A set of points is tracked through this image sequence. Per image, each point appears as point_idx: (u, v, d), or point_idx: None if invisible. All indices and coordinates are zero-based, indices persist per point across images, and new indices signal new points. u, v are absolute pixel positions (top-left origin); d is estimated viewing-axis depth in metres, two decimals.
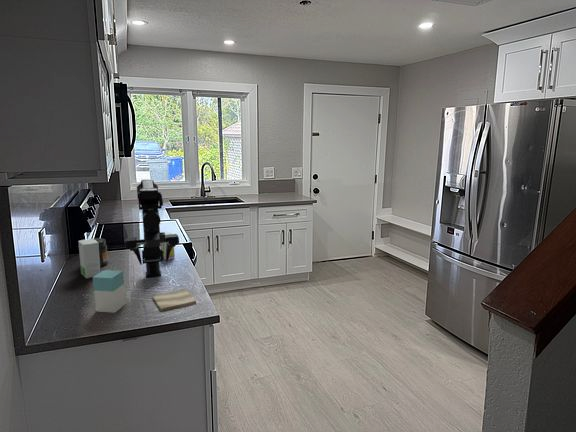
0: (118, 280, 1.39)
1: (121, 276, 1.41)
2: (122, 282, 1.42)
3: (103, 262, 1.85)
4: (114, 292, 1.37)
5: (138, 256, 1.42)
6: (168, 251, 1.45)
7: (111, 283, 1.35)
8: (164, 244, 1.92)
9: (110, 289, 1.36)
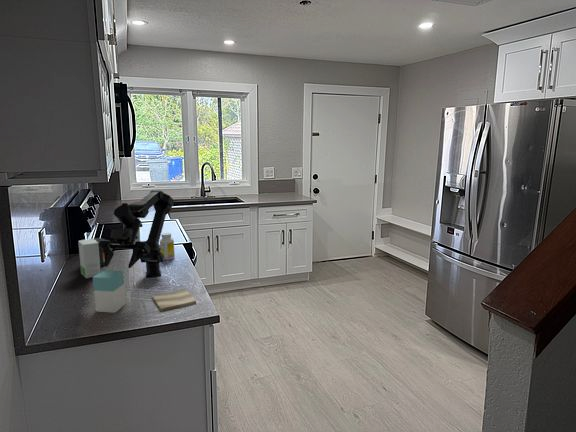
0: (118, 280, 1.39)
1: (121, 276, 1.41)
2: (122, 282, 1.42)
3: (103, 262, 1.85)
4: (114, 292, 1.37)
5: (106, 256, 1.46)
6: (133, 255, 1.45)
7: (111, 283, 1.35)
8: (164, 244, 1.92)
9: (110, 289, 1.36)
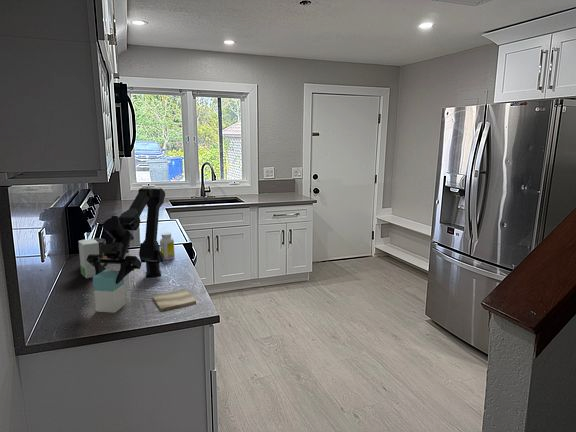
0: None
1: None
2: (122, 282, 1.42)
3: None
4: (114, 292, 1.37)
5: (96, 271, 1.39)
6: (120, 270, 1.39)
7: (111, 283, 1.35)
8: (164, 244, 1.92)
9: (110, 289, 1.36)
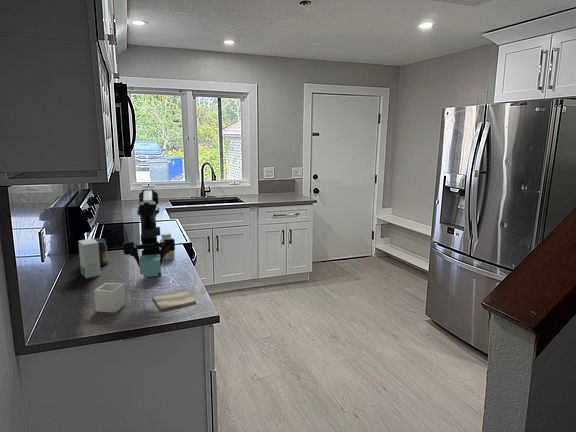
0: None
1: None
2: None
3: (103, 262, 1.85)
4: (114, 292, 1.37)
5: (137, 257, 1.44)
6: (162, 253, 1.47)
7: (159, 265, 1.44)
8: None
9: (158, 271, 1.44)
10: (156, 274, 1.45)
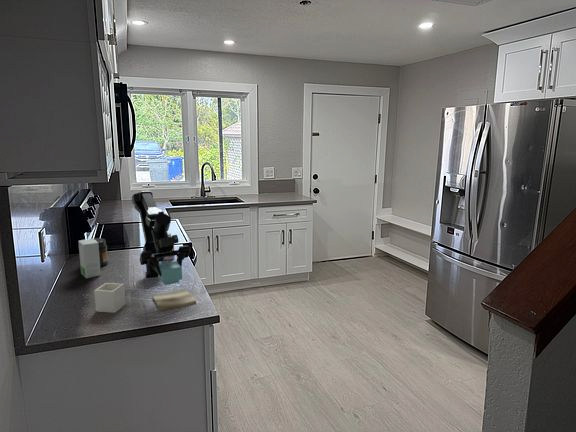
0: None
1: None
2: None
3: (103, 262, 1.85)
4: (114, 292, 1.37)
5: (157, 266, 1.46)
6: (180, 260, 1.51)
7: (181, 272, 1.47)
8: None
9: (179, 277, 1.47)
10: (177, 281, 1.48)
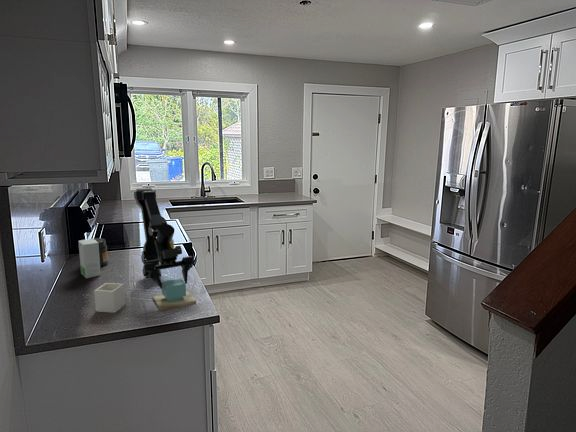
0: None
1: None
2: None
3: (103, 262, 1.85)
4: (114, 292, 1.37)
5: (158, 278, 1.43)
6: (185, 271, 1.49)
7: (185, 288, 1.45)
8: None
9: (183, 294, 1.45)
10: (181, 298, 1.46)
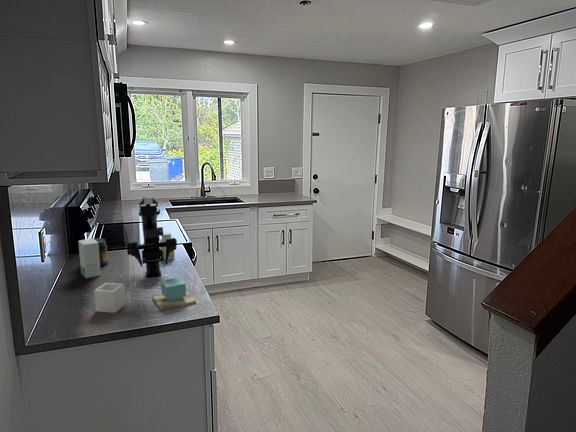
0: None
1: None
2: None
3: (103, 262, 1.85)
4: (114, 292, 1.37)
5: (139, 257, 1.50)
6: (167, 252, 1.54)
7: (185, 288, 1.45)
8: None
9: (183, 294, 1.45)
10: (181, 298, 1.46)
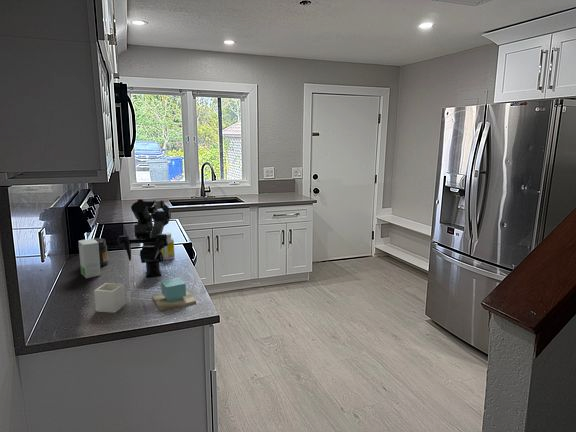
0: None
1: None
2: None
3: (103, 262, 1.85)
4: (114, 292, 1.37)
5: (128, 251, 1.52)
6: (156, 247, 1.55)
7: (185, 288, 1.45)
8: None
9: (183, 294, 1.45)
10: (181, 298, 1.46)
